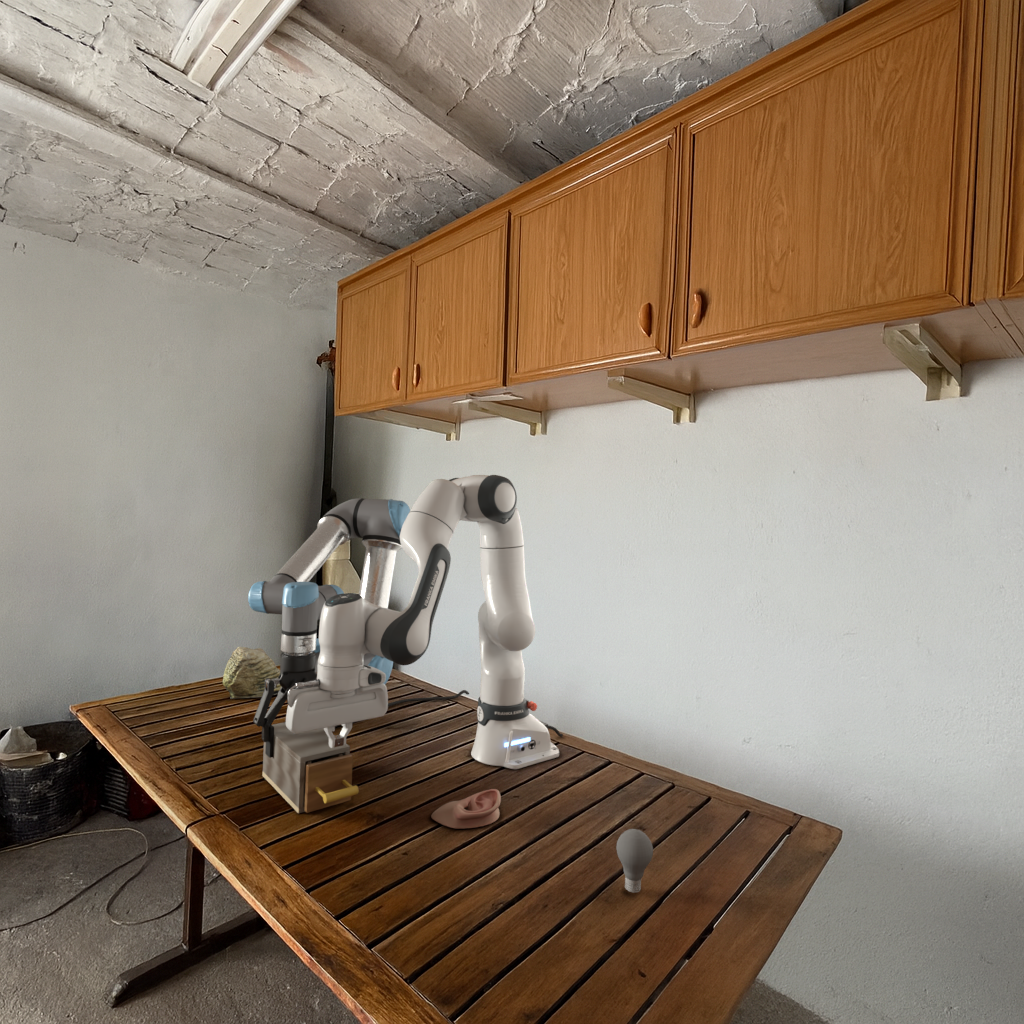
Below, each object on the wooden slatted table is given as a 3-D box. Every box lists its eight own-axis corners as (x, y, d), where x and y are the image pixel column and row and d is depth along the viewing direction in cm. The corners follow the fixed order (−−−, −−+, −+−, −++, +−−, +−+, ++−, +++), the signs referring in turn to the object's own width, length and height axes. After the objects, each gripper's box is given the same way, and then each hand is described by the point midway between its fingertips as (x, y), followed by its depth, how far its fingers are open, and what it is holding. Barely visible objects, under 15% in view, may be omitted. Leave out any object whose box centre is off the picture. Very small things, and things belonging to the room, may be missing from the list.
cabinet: (348, 799, 133) (350, 746, 133) (298, 813, 126) (300, 757, 126) (308, 764, 149) (310, 717, 149) (262, 775, 142) (264, 726, 142)
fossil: (218, 695, 195) (220, 647, 195) (278, 685, 208) (279, 640, 207) (228, 703, 189) (230, 653, 188) (289, 692, 201) (290, 645, 201)
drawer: (364, 811, 126) (366, 765, 126) (318, 825, 120) (320, 777, 120) (312, 766, 146) (314, 727, 146) (271, 776, 140) (272, 735, 140)
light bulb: (610, 879, 108) (613, 822, 108) (644, 879, 109) (647, 822, 109) (619, 902, 102) (622, 840, 102) (655, 901, 103) (658, 840, 103)
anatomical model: (426, 804, 124) (444, 779, 135) (425, 824, 124) (443, 798, 135) (492, 814, 121) (505, 787, 132) (491, 834, 121) (504, 806, 133)
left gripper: (250, 662, 131) (246, 767, 132) (353, 649, 146) (350, 743, 147) (239, 654, 137) (235, 755, 137) (339, 642, 152) (336, 733, 152)
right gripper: (294, 688, 116) (291, 763, 116) (393, 673, 129) (390, 740, 130) (282, 680, 121) (278, 751, 121) (378, 666, 134) (375, 730, 134)
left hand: (294, 749), depth 142 cm, fingers closed on cabinet, 11 cm apart
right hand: (337, 745), depth 126 cm, fingers closed
